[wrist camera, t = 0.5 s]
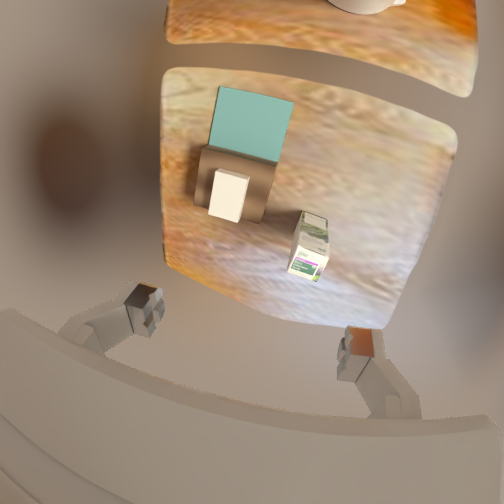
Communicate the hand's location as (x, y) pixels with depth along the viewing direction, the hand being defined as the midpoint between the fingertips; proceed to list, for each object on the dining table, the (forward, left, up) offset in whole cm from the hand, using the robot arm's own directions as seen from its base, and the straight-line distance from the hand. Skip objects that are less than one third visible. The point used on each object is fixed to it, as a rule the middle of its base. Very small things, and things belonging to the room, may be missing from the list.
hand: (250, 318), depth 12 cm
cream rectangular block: (+14, -10, -41) cm, 44 cm away
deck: (+12, -10, -45) cm, 48 cm away
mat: (0, -11, -45) cm, 46 cm away
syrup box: (+17, +7, -45) cm, 49 cm away
